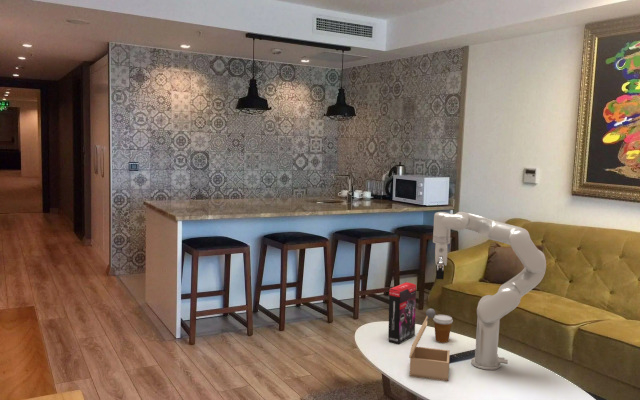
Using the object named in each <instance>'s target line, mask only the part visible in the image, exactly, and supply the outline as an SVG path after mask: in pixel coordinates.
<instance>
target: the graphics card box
mask: <svg viewBox="0 0 640 400" xmlns="http://www.w3.org/2000/svg"><path fill="white" fill-rule="evenodd" d="M388 291H389V293H388V296H389V298H388V336H387V337H388V339H387V340H388V342H389V343H392V344H396V345H400V344H402V343H404V342H406V341H407V340H408V339H411V338H412V337H414V336H415V335H416V308H417V307H416V305H417V304H416V303H417V301H416V300H417V284H415V283H412V282H407V281H405V282H403V283H401V284H398V285H396V286H393V287H390V288H389V290H388Z"/></svg>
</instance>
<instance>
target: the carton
mask: <svg viewBox="0 0 640 400" xmlns="http://www.w3.org/2000/svg"><path fill="white" fill-rule="evenodd" d="M450 351H451V350H448V349H440V348H430V347H424V346H416V348H415V350H414V352H413V354H412V356H411V358H409V359H410V360H409V361H410V362H409V377H413V378H421V379H426V380H427V379H428V380H435V381H444V382H448V381H449V373H450V371H449V370H450V356H451V355H450Z"/></svg>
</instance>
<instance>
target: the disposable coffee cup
mask: <svg viewBox="0 0 640 400" xmlns="http://www.w3.org/2000/svg"><path fill="white" fill-rule="evenodd" d="M432 319H433V322H434V323H433V324H434V335H435V339H434V340H435V341H436V342H437V343H441V344H445V343H448V342H449V339H450V334H451V328H452V324H453V322H454V320H453V317H452V316H451V315H447V314H435V316H434V317H433V318H432Z"/></svg>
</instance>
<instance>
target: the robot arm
mask: <svg viewBox="0 0 640 400" xmlns="http://www.w3.org/2000/svg"><path fill="white" fill-rule="evenodd" d="M465 229H466V230H468V231H472V232H476V233H478V234H481V235H482V236H483V237H485V238H486V239H488V240H491V241H495V242H498V243H502V244H506V245H509V246H510V247H511V249H512V250H513V252H514V254H515V255H516V257H517V258H518V259H519V260H520V262H521V264H522V265H523V267H524V268H523V269H522V270H521V271H520V272H519V273H517V274H516V275H514V276H513V277H512V278H510V279H508V280H507V281H506V282H504V283H502V284H501V285H500V287H499V288H498V290H497V292H496V293H495V294H493V295H492V294H487V295H484V296H482V297H481V298H480V299H479V301H478V303H477V308H476V316H477V321H476V322H477V323H476V332H475V333H476V335H475V336H476V337H475V348H474V349H475V351H474V353H475V354H474V357H472V358H471V360H470V363H471V365H472V366H474V367H476V368H478V369H481V370H487V371H488V370H489V371H494V370H498V369H499V368H500V367H501V364H505V365H508V364H509V360H508V359H506V358H505V357H500V356H499V354H498V352H499V351H498V349H499V348H498V347H499V335H500V334H499V333H500V325H501V324H500V323H501V321H500V320H501V319H502V318H503V317H505V316H506V315H508V314H509V313H511V312H512V311H513V310H515V309H516V308H517V307H518V306H519V305H520V303H521V301H522V300H521V299H522V298H523V296H525V295H526V294H528V293H529V292H531V290H533V289H534V288H535V287H537V286H538V285H539V284H540V283H541V282H542V280H543V278H544V276H545V274H546V269H547V259H546V256H545V253H544V252H543V251H541V250H540V249H538V248H537V246H536V245H535V243H534V242H533V240H532V238H531V235H530V233H529V231H528V230H527V229H526V228H523V227H521V226H517V225H512V224H509V223H505V222H501V221H497V220H493V219H490V218H487V217H484V216H481V215H478V214H474V213H469V212H464V211H458V212H455V213H452V214H451V213H449V212H445V211H438V212H437V211H436V212H435V213H434V216H433V232H432V233H433V234H432V243H434V244H435V248H434V249H435V251H434V252H435V253H434V257H435V259H434V260H435V266H436V267H435V268H436V270H435V273H436V276H435V278H436V280H444V276H445V275H444V274H445V270H444V266H445V267H446V266H447V265H448V264H447V263H448V245H449V244H450V243H451V231H459V232H461V231H464V230H465Z"/></svg>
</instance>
